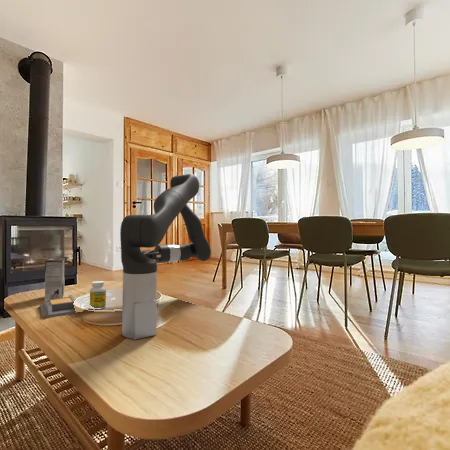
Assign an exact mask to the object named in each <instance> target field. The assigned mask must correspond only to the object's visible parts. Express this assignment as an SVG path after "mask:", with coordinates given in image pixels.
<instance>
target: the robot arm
mask: <svg viewBox="0 0 450 450" xmlns="http://www.w3.org/2000/svg"><path fill="white" fill-rule="evenodd" d="M169 181H170V182H169V185H170V187H169V188H168V189H165V190H164V191H163V192H161V193H160V194H159V195H158V196H157V197H155V200H154V203H153V210H154V214H129V215H126V216H125V217H124V218H123V219H122V222H121V223H120V231H119V232H120V233H119V236H120V237H119V238H120V259H121V260H120V261H121V265H122V311H121V313H122V315H121V316H122V320H121V322H122V324H121V325H122V328H121V329H122V330H121V335H122V336H123V337H124V338H128V339H132V340H134V341H136V340H139V339H144V338H149V337H152V336H156V335H157V300H158V297H157V296H158V291H157V288H158V286H157V285H158V264H165V263H167V264H168V263H175V262H181V261H188V260H190V259H191V258H195V259H197V260H199V261H200V262H206V261H208V260H209V259H210V258H211V254H212V251H211V246H210V244H209V241H208V240H207V238H206V236H205V232H204V228H203V224H202V221H201V219H200V217H198V215H197V214H196V213H195V212H194V211H193V210H192V209H191V208H190V207H189V206H188V203H189V202H190V201H191V200H192V199H193V198H194V197H196V196H197V194H198V192H199V191H200V182H199V179H198V177H197V176H196V175H195V174H193V173H186V174H182V175H181V174H180V175H175V176H172V177H171V179H170V180H169ZM179 214H180V215H181V217H182V219H183V222H184V225H185V230H186V232H187V236H188V239H189V241H190V242H191V243H186V244H161V242H163V240H164V238H165V236H166V234H167V232H168V231H169V228H170V227H171V225H172V223H174V220H176V219H177V217H178V216H179ZM141 248H143V249H141ZM144 248H146V249H144ZM147 248H154V249H147Z"/></svg>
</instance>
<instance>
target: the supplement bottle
mask: <svg viewBox="0 0 450 450" xmlns="http://www.w3.org/2000/svg"><path fill="white" fill-rule="evenodd" d="M104 285H105V281H104V280H94V281H92V282H91V288H89V289H90V290H89V306H90V305H91V306H92V307H94V308H104V307H105V306H107V289H106V287H105V286H104ZM105 308H106V307H105ZM105 308H104V309H105Z"/></svg>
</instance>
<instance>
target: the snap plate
mask: <svg viewBox="0 0 450 450" xmlns="http://www.w3.org/2000/svg"><path fill="white" fill-rule="evenodd" d="M63 298H64V299H56V300H50V304H59V303H66V302H73V301H72V300H71V299H70V298H65V297H63Z"/></svg>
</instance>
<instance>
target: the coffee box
mask: <svg viewBox="0 0 450 450" xmlns="http://www.w3.org/2000/svg"><path fill="white" fill-rule="evenodd" d="M65 260H66V257H60V258H59V257H51V258H49V257H48V258H47V259H46V260H45V262H44V263H45V264H44V265H45V269H44V270H45V273H44V299H45V298H48V299H57V298H64V296H65V287H66V286H65V284H66V283H65V279H66V277H65V276H66V275H65V274H66V273H65V271H66V268H65V267H66V266H65V265H66V264H65V263H66V261H65Z"/></svg>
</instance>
